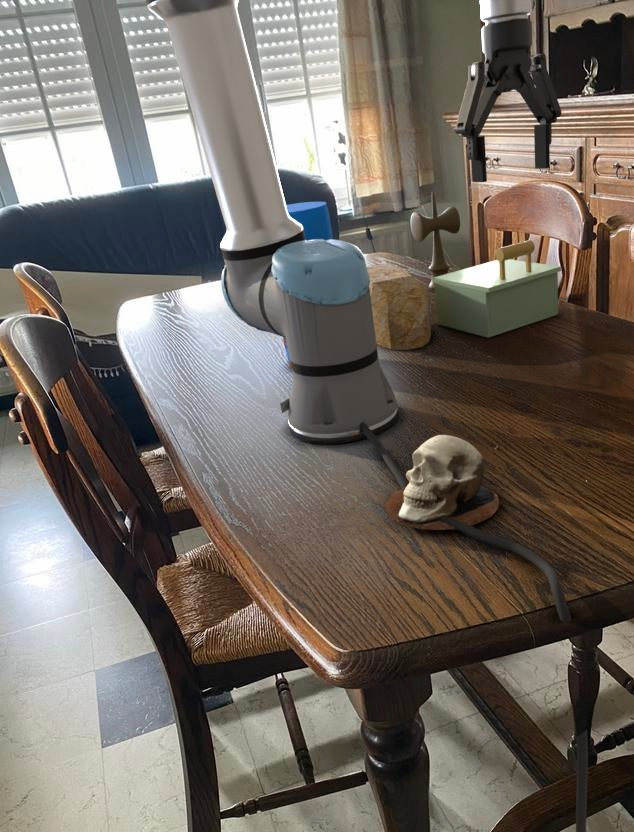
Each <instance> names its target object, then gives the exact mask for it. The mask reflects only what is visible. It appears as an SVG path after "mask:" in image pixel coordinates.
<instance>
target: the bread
mask: <svg viewBox="0 0 634 832" xmlns="http://www.w3.org/2000/svg"><path fill="white" fill-rule="evenodd" d="M367 271H368V274H369V277H370V285H369V287H370V295H371V303H372V312H373V320H374V328H375V336H376V344H377V346H380V347H383V348H386V349H389V350H396V351H397V350H400V351H401V350H402V351H409V350H413V349H418V348H423V347H424V346H426V345H427V344H428V343H429V342H430V340H431V335H432V323H431V313H430V312H431V311H430V303H429V300H430V299H429V292H428V289H426V288H425V286H423V284H422V283H421V282H420V281H419V280H418V279H417V278H416V277H414V276H413V274H410V273H409V272H407V271H405V270H404V269H402V268H400V267H398V266H396V265H394V264H393V263H391V262H387V263H382V264H376V265H371V266H367Z"/></svg>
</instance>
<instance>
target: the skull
mask: <svg viewBox="0 0 634 832" xmlns="http://www.w3.org/2000/svg"><path fill="white" fill-rule="evenodd" d="M411 457H412V463H413V468H412V469H409V470H408V471H407V472H406V473H405V479H406V480H407V482H408V486H407V487H406V488H405V490H404V492H403V490H402V489H401V487H400V488H398V489H397V490H395V491H393V492H392V493H391V494H390V495H389V496H388V497H387V499H386V501H385V503H384V509H385V512H386V513H387V515H388V516H389V517H390V518H391V519H392V520H393V521H395V522H397V523H399V524H400V525H402V526H405V527H407V528H411V529H412V528H414V529H419V530H430V531H439V530H440V531H445V530H447V531H449V530H453V531H456V530H455V529H457V528H456V527H454V526H451V525H448V524H446V523H444V522H441V521H439V518H440V517H441V516H443V515H445V516H448V517H450V518H452V519H455V520H457V521H460V522H462V523H465V524H467V525H469V526H471V527H473V526H475V525H477V524H480V523H482V522H483V523H484V521H486V520H488V519H490V518H491V517H493V515H494V514H495V513H496V512H497V511H498V509H499V506H500V499H499V496H498V495H497V493H496V492H494V491H493V490H491V489H490V488H489V487H488V488H487V486H485V485H483V481H484V475H485V465H484V460H483V459H484V458H483V454H481V452H479V450H478V449H477V448H476V447H475V446H474V445H472V444H471V443H469V442H468V441H467V440H464V439H462V438H459V437H456V436H453V435H448V434H438V435H435V436H432V437H430V438H429V439H427V440H426V441H424V442H423V443H422V444H421V445H419V447H417V448H416V450H414V452H413V453H412V456H411Z"/></svg>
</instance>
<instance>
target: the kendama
mask: <svg viewBox="0 0 634 832" xmlns="http://www.w3.org/2000/svg"><path fill="white" fill-rule="evenodd" d="M431 213H432V217H431V216H430V217H429V216H426V215H424V214H422V213H420V212H418V211H414V212H413V213H412V214H411V216H410V231H411V234H412V237H413V238H414V240H415V241H416V242H417V243H421V242H423V241H424V240H425V239H427V237H428V236H429V234H431V233H432V258H431V264H430V265H429V266H428V270H429V271H430V273H431V280H430V283H429V285H428V288H429V290H431V291H435V289H434V277H437V276H441V275H445V274H448V273H449V269H450V267H451V265H450V264H449V263H448V262H447V261H446V257H445V253H444V248H443V245H442V238H441V233H440V231H445V232H447V233H450V234H453V235H455V234H458V233H459V232H460V228H461V217H460V213H459V211H458V209H457V208H456V207H455V206H454V205H453V206H452V205H451V206H449V207H447V208H446V209H445V210H444V211H442V213H440V214H439V215H438V209H437V200H436V194H435V191H433V190H432V191H431Z"/></svg>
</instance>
